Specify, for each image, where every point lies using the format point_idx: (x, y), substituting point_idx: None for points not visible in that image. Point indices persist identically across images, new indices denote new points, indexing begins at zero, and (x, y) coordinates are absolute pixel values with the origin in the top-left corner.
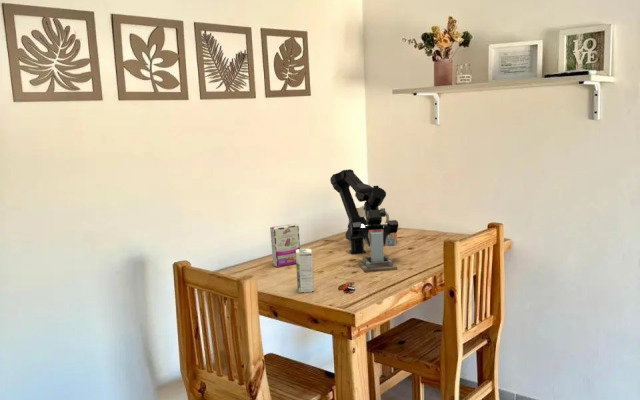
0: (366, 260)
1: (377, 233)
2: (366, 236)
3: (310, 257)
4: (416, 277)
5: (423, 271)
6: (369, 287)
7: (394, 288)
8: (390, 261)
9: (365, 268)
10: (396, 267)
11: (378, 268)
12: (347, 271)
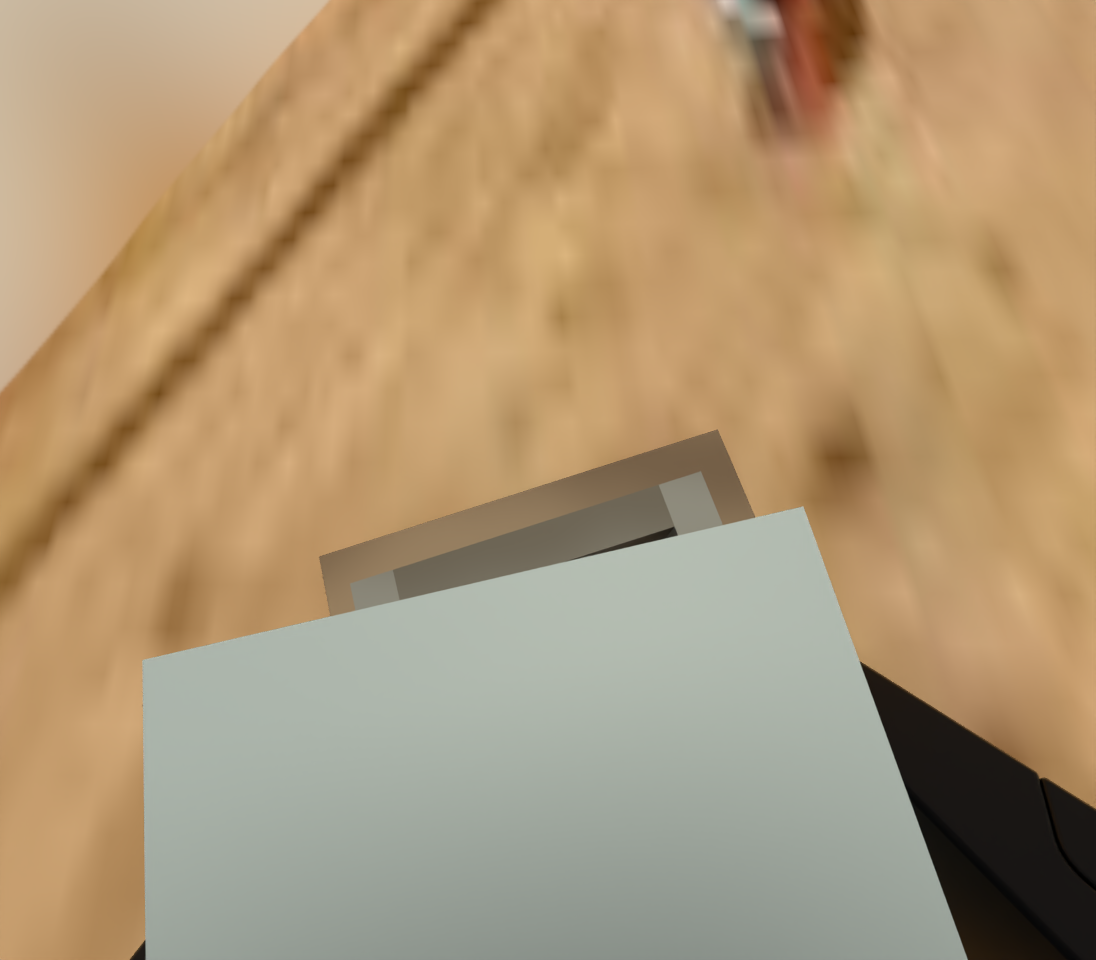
0: None
1: (442, 634)
2: (1058, 827)
3: None
4: (177, 294)
5: (67, 495)
6: (591, 28)
7: (391, 25)
8: (375, 592)
9: (719, 501)
10: (331, 554)
11: (551, 501)
12: (941, 492)
